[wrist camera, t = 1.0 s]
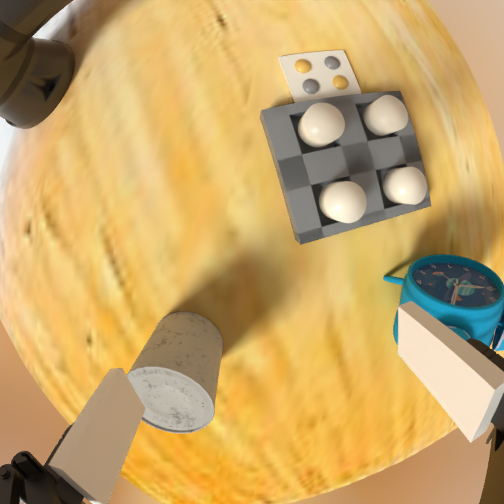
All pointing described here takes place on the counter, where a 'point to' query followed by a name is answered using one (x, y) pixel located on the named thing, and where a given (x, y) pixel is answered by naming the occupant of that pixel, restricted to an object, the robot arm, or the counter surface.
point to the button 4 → (405, 185)
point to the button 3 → (385, 115)
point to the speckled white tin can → (179, 373)
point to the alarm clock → (456, 296)
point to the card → (318, 75)
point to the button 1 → (321, 125)
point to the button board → (338, 164)
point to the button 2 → (343, 201)
